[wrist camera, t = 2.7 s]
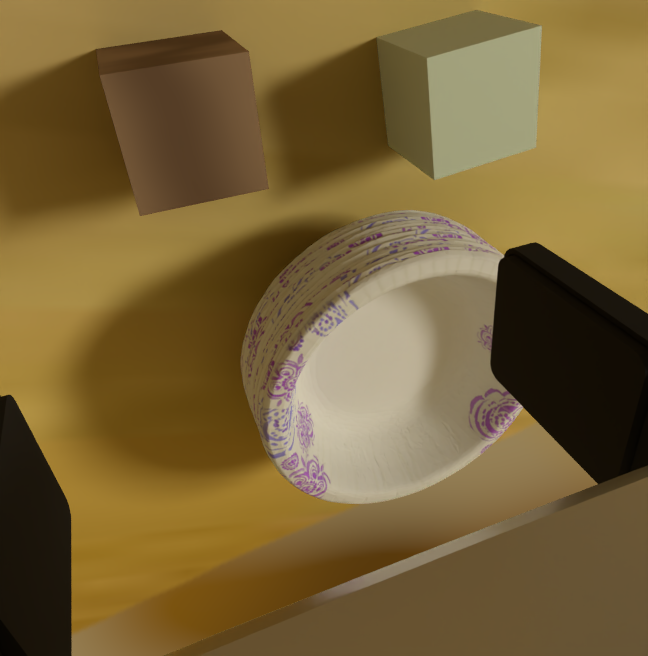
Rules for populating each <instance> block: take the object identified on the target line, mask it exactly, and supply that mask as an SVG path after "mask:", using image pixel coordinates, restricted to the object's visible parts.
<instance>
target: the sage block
mask: <svg viewBox="0 0 648 656" xmlns="http://www.w3.org/2000/svg"><path fill="white" fill-rule="evenodd" d="M541 32H542V25H537V24H533V23H529V22H525V21H521V20H516V19H512V18H508V17H504V16H500V15H496V14H491V13H487V12H483V11H479V10H474V11H471V12H467V13H463V14H460V15H456V16H452V17H449V18H445V19H442V20H438V21H434V22H431V23H427V24H423V25H420V26H416V27H412V28H409V29H405V30H401V31H398V32H394V33H390V34H387V35H383V36H379V37H376V39H377V48H378V58H379V67H380V76H381V85H382V94H383V104H384V113H385V122H386V131H387V140H388V146H389V147H391V148H392V149H393V150H395V151H396V152H397V153H399V154H400V155H401V156H403V157H404V158H405V159H407V160H408V161H409V162H411V163H412V164H413V165H415V166H416V167H417V168H419V169H420V170H422V171H423V172H424V173H426V174H427V175H428V176H430V177H431V178H432V179H434V180H436V179H439V178H442V177H445V176H449V175H452V174H455V173H458V172H461V171H464V170H467V169H470V168H474V167H477V166H480V165H483V164H486V163H489V162H492V161H495V160H499V159H502V158H505V157H508V156H511V155H514V154H517V153H521V152H524V151H527V150H530V149H533V148H536V136H537V115H538V94H539V74H540V53H541Z"/></svg>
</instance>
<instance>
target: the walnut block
mask: <svg viewBox="0 0 648 656" xmlns="http://www.w3.org/2000/svg"><path fill="white" fill-rule="evenodd" d="M96 53H97V60H98V67H99V75H100V79H101V82H102V85H103V89H104V92H105V96H106V99H107V103H108V106H109V110H110V113H111V117H112V120H113V124H114V127H115V131H116V134H117V138H118V141H119V144H120V148H121V151H122V155H123V158H124V162H125V165H126V169H127V172H128V176H129V179H130V183H131V186H132V190H133V193H134V196H135V200H136V203H137V207H138V210H139V214H140V216H142V215H147V214H152V213H156V212H161V211H166V210H171V209H175V208H180V207H185V206H189V205H194V204H199V203H204V202H208V201H213V200H218V199H223V198H227V197H232V196H237V195H242V194H246V193H251V192H256V191H260V190H265V189H269V188H268V181H267V174H266V167H265V160H264V153H263V146H262V140H261V133H260V126H259V119H258V112H257V105H256V98H255V91H254V85H253V78H252V71H251V64H250V57H249V51H247V50H246V49H245V48H243V47H242V46H241V45H240V44H238V43H237V42H236V41H235V40H233V39H232V38H231V37H230V36H228V35H227V34H226V33H224V32H223V31H222V30H221V31H214V32H207V33H201V34H194V35H187V36H181V37H174V38H167V39H161V40H154V41H147V42H141V43H134V44H127V45H121V46H114V47H108V48H101V49H96Z"/></svg>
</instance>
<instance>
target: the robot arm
mask: <svg viewBox="0 0 648 656" xmlns="http://www.w3.org/2000/svg"><path fill="white" fill-rule="evenodd" d="M490 366H491V370H492V373H493V375H494V377H495V378H496V379H497V381H498V382H499V383H500V384H501V385H502V386H503V387H504V388H505V389H506V390H507V391H508V392H509V393H510V394H511V395H512V396H513V397H514V398H515V399H516V400H517V401H518V402H519V403H520V404H521V405H522V406H523V407H524V408H525V409H526V410H527V411H528V412H529V414H530V415H531V416H532V417H533V418H534V419H535V420H536V421H537V422H538V423H539V424H540V425H541V426H542V427H543V428H544V429H545V430H546V431H547V432H548V433H549V434H550V435H551V436H552V437H553V438H554V439H555V440H556V441H557V442H558V443H559V444H560V445H561V446H562V447H563V448H564V449H565V451H566V452H567V453H568V454H569V455H570V456H571V457H572V458H573V459H574V460H575V461H576V462H577V463H578V464H579V465H580V466H581V467H582V468H583V469H584V470H585V471H586V472H587V473H588V474H589V475H590V476H591V477H592V478H593V479H594V480H595V481H596V482H597V483H598V485H595V486H593V487H590V488H587V489H585V490H582V491H580V492H577V493H575V494H572V495H569V496H567V497H564V498H562V499H559V500H556V501H554V502H551V503H548V504H546V505H543V506H541V507H538V508H535V509H533V510H530V511H527V512H525V513H522V514H520V515H517V516H515V517H512V518H510V519H507V520H504V521H502V522H499V523H497V524H494V525H491V526H489V527H486V528H484V529H481V530H479V531H476V532H474V533H471V534H468V535H466V536H463V537H461V538H458V539H456V540H453V541H451V542H448V543H445V544H443V545H440V546H438V547H436V548H433V549H430V550H427V551H425V552H422V553H420V554H417V555H415V556H412V557H410V558H407V559H404V560H402V561H399V562H397V563H394V564H392V565H389V566H387V567H384V568H382V569H379V570H376V571H374V572H371V573H369V574H366V575H364V576H361V577H359V578H356V579H353V580H351V581H349V582H346V583H343V584H341V585H338V586H336V587H334V588H331V589H328V590H326V591H323V592H321V593H318V594H316V595H313V596H311V597H308V598H306V599H303V600H301V601H298V602H296V603H293V604H290V605H288V606H286V607H283V608H280V609H278V610H276V611H273V612H270V613H268V614H266V615H263V616H261V617H258V618H255V619H253V620H250V621H248V622H245V623H243V624H240V625H238V626H235V627H233V628H230V629H228V630H225V631H222V632H220V633H217V634H215V635H213V636H210V637H207V638H205V639H203V640H200V641H198V642H196V643H193V644H191V645H188V646H186V647H183V648H181V649H179V650H176V651H174V652H171V653H169V654H167V655H164V656H648V314H647V313H646V312H644V311H643V310H641V309H640V308H638V307H637V306H635V305H633V304H632V303H630V302H629V301H627V300H626V299H624V298H623V297H621V296H619V295H618V294H616V293H615V292H613V291H612V290H610V289H609V288H607V287H606V286H604V285H602V284H601V283H599V282H598V281H596V280H595V279H593V278H592V277H590V276H588V275H587V274H585V273H584V272H582V271H581V270H579V269H578V268H576V267H575V266H573V265H571V264H570V263H568V262H567V261H565V260H564V259H562V258H561V257H559V256H557V255H556V254H554V253H553V252H551V251H550V250H548V249H547V248H545V247H543V246H542V245H540V244H538V243H530V244H526V245H522V246H519V247H515V248H511V249H509V250H508V251H506V253H505V255H504V258H502V259H501V260H500V261H499V264H498V272H497V284H496V297H495V309H494V321H493V334H492V346H491V358H490ZM0 656H71V514H70V509H69V505H68V502H67V499H66V497H65V495H64V493H63V491H62V489H61V488H60V486H59V484H58V482H57V480H56V478H55V476H54V474H53V472H52V470H51V468H50V466H49V465H48V463H47V461H46V459H45V457H44V455H43V453H42V451H41V449H40V447H39V445H38V443H37V442H36V440H35V438H34V436H33V434H32V432H31V430H30V428H29V426H28V424H27V422H26V420H25V418H24V417H23V415H22V413H21V411H20V409H19V407H18V405H17V403H16V401H15V400H14V398H13V397H12V396H11V395H6V396H2V397H1V396H0Z"/></svg>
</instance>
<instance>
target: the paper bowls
mask: <svg viewBox="0 0 648 656" xmlns="http://www.w3.org/2000/svg"><path fill="white" fill-rule="evenodd" d="M502 258H504V255H503V254H501V253H500V252H499V251H498V250H497V249H496V248H494V247H492V246H491V245H490V244H488V243H487V242H486V241H485V240H483V239H482V238H481V237H480V236H478V235H477V234H476V233H475V232H473V231H472V230H470V229H469V228H467V227H465V226H464V225H462V224H460V223H458V222H455V221H453V220H451V219H449V218H447V217H443V216H440V215H437V214H434V213H429V212H423V211H415V210H402V211H393V212H387V213H382V214H378V215H374V216H370V217H366V218H363V219H360V220H358V221H355V222H352V223H350V224H348V225H346V226H343V227H341V228H339V229H336V230H334V231H332V232H331V233H329V234H327V235H325V236H323V237H322V238H320V239H319V240H317V241H316V242H315V243H313V244H312V245H311V246H309V247H308V248H307V249H306V250H305V251H303V252H302V253H301V254H300V255H298V256H297V257H296V258H295V259H294V260H293V261H292V262H291V263H290V264H288V265H287V266H286V267H285V268H284V269H283V270H282V271H281V272H280V274H279V275H278V276H277V277H276V278H275V279H274V280H273V282H272V283H271V284H270V286H269V287H268V289H267V290H266V292H265V294H264V295H263V297H262V298H261V300H260V301H259V303H258V304H257V306H256V308H255V310H254V312H253V314H252V316H251V319H250V321H249V324H248V328H247V331H246V334H245V338H244V341H243V346H242V353H241V373H242V380H243V385H244V389H245V393H246V396H247V399H248V402H249V406H250V409H251V411H252V414H253V416H254V420H255V422H256V424H257V427H258V430H259V433H260V436H261V440H262V443H263V446H264V448H265V451H266V453H267V454H268V457H269V458H270V459H271V461H272V462H273V464H274V466H275V467H276V469H277V470H278V471H279V473H280V474H281V475H282V476H283V477H284V478H285V479H286V480H288V481H289V482H290V483H291V484H293V485H294V486H295V487H297V488H298V489H300V490H301V491H303V492H305V493H307V494H309V495H311V496H314V497H316V498H319V499H322V500H326V501H330V502H337V503H349V504H367V503H376V502H382V501H387V500H392V499H396V498H399V497H403V496H406V495H409V494H412V493H415V492H418V491H420V490H423V489H425V488H427V487H430V486H432V485H434V484H436V483H438V482H439V481H441V480H443V479H445V478H447V477H449V476H450V475H452V474H454V473H455V472H457V471H458V470H460V469H462V468H463V467H465V466H466V465H467V464H469V463H470V462H471V461H473V460H474V459H475V458H477V457H478V456H479V455H481V454H482V453H483V452H484V451H485V450H486V449H487V448H489V447H490V446H491V445H492V444H493V443H494V442H495V441H496V440H497V439H498V438H499V437H500V436H501V435H502V434H503V433H504V432H505V431H506V430H507V428H508V427H509V426H510V425H511V423H512V422H513V421H514V420H515V418H516V417H517V416H518V415H519V413H520V412H521V410H522V409H523V406H522V405H521V404H520V403H519V402H518V401H517V400H516V399H515V398H514V397H513V396H512V395H511V394H510V393H509V392H508V391H507V390H506V389H505V388H504V387H503V386H502V385H501V384H500V383H499V382H498V381H497V379H496V378H495V377H494V375H493V373H492V370H491V366H490V358H491V346H492V334H493V321H494V309H495V297H496V284H497V272H498V264H499V261H500V260H501V259H502Z"/></svg>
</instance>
